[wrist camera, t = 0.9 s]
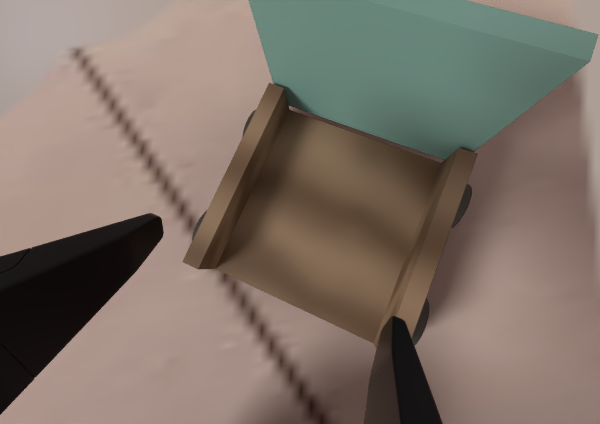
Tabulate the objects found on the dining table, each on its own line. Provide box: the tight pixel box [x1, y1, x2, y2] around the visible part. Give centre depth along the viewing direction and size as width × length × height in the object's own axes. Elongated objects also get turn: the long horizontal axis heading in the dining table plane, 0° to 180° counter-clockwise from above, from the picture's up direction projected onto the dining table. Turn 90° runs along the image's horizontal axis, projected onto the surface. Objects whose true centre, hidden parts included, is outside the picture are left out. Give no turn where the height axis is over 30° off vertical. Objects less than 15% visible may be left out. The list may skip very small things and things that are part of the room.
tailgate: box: [249, 0, 598, 160], centre depth 17 cm, size 2×15×11 cm, turn 67°
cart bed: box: [183, 83, 477, 348], centre depth 21 cm, size 14×17×6 cm
